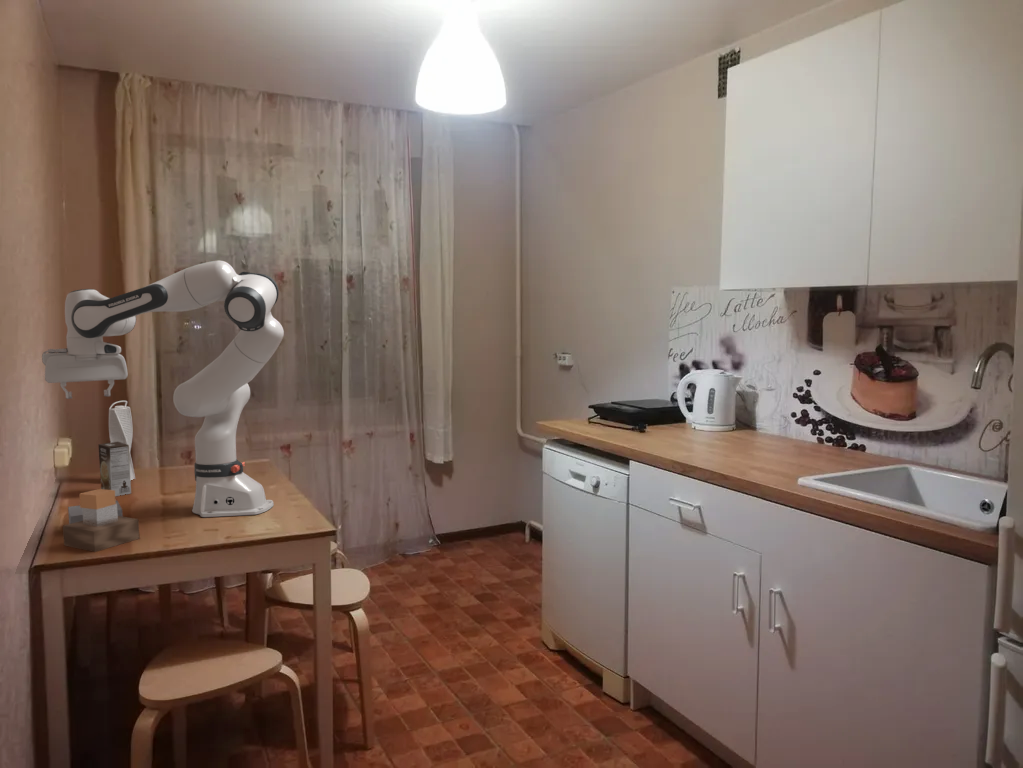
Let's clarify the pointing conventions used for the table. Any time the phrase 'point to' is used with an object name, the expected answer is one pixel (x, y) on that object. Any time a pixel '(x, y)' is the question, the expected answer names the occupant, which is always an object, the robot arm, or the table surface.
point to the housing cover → (97, 499)
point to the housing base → (100, 515)
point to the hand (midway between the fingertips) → (88, 397)
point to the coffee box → (115, 467)
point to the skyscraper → (121, 428)
